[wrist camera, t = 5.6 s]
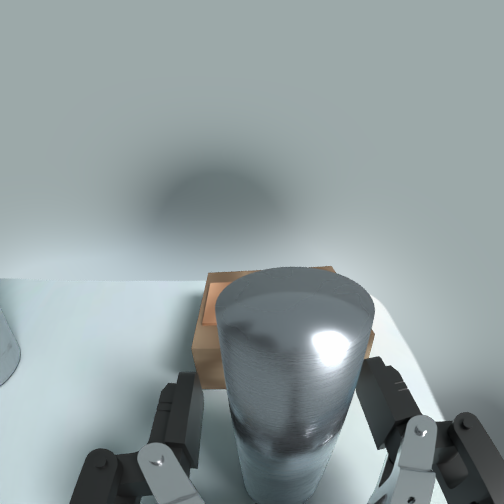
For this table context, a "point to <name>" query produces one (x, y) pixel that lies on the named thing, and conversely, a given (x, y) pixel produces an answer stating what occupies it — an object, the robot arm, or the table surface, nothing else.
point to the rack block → (207, 332)
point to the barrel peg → (290, 372)
